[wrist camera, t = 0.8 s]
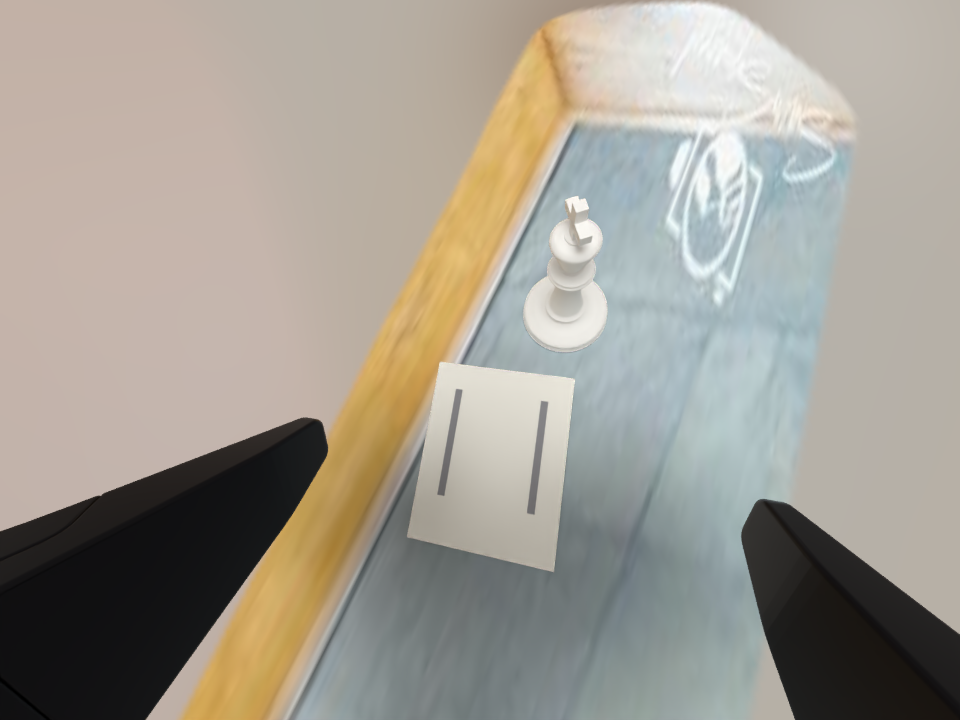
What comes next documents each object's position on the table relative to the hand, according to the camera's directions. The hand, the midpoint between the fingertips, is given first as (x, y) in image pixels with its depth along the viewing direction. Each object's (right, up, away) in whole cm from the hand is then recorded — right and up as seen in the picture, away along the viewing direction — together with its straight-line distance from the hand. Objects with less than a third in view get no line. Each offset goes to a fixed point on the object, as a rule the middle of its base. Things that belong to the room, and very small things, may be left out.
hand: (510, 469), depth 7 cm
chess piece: (+5, +5, +14) cm, 16 cm away
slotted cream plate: (0, -3, +13) cm, 13 cm away
